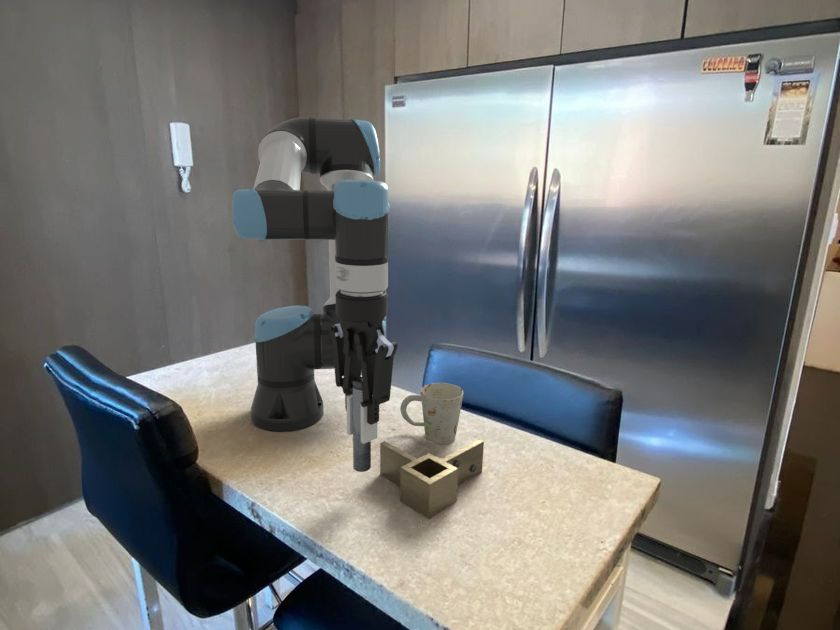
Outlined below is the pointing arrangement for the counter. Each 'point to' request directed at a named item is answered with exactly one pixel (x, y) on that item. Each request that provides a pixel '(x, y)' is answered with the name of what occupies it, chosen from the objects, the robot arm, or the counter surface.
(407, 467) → the hinge
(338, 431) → the counter surface
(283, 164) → the robot arm
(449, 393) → the mug
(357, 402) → the pin
